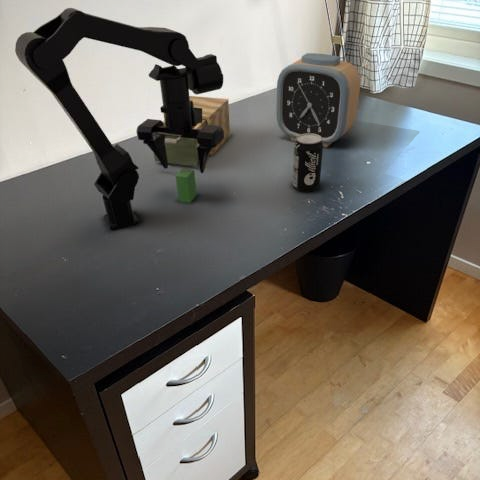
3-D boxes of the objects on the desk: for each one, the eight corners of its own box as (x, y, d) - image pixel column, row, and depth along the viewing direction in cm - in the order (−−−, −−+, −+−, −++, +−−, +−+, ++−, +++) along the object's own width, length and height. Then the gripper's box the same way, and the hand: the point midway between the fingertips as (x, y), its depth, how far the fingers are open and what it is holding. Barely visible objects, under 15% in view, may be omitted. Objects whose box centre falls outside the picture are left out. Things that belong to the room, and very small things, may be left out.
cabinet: (212, 155, 133) (209, 116, 126) (168, 150, 136) (163, 112, 129) (230, 135, 143) (228, 98, 136) (188, 131, 147) (185, 95, 139)
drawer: (189, 173, 122) (185, 139, 117) (146, 168, 126) (140, 135, 120) (215, 146, 135) (213, 114, 129) (175, 142, 138) (171, 110, 133)
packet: (196, 195, 116) (194, 169, 111) (190, 202, 113) (187, 177, 108) (185, 193, 116) (182, 168, 112) (178, 201, 114) (175, 175, 109)
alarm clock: (275, 138, 140) (276, 57, 126) (290, 127, 146) (292, 48, 132) (340, 151, 132) (349, 65, 117) (353, 139, 138) (363, 56, 123)
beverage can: (324, 185, 117) (329, 137, 109) (308, 195, 113) (312, 146, 105) (303, 178, 120) (306, 130, 112) (287, 187, 117) (288, 138, 109)
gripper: (231, 90, 102) (234, 160, 113) (153, 84, 107) (163, 152, 118) (211, 107, 95) (216, 180, 105) (129, 100, 100) (142, 171, 110)
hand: (184, 170), depth 110 cm, fingers open, 9 cm apart
